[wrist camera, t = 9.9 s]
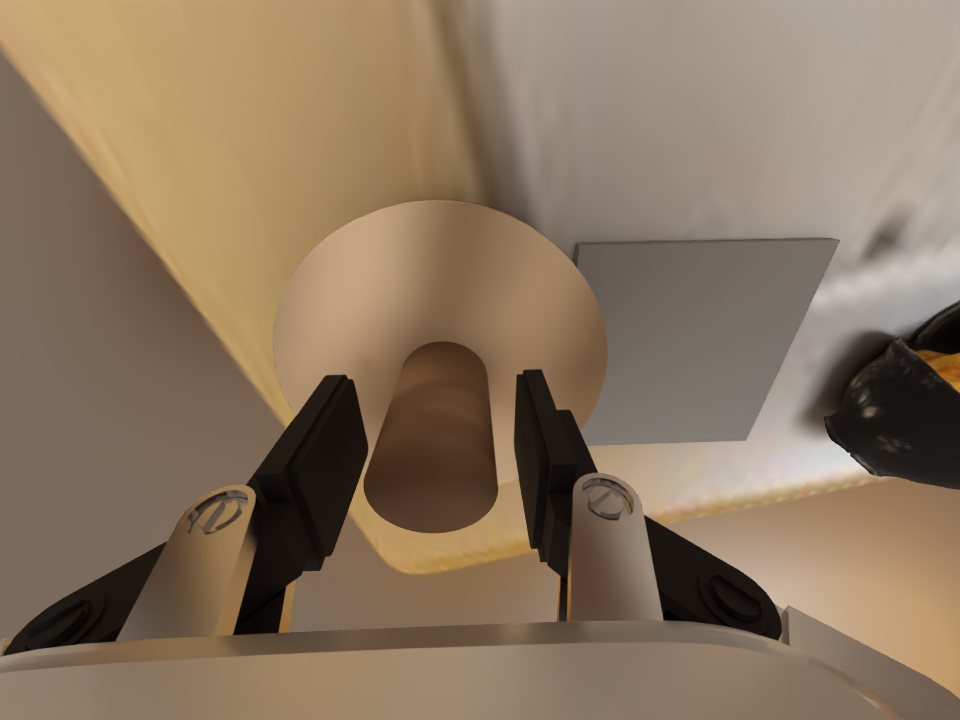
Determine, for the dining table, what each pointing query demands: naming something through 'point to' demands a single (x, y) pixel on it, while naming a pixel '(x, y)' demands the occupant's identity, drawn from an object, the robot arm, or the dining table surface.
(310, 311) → the lid
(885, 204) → the dining table surface
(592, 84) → the dining table surface
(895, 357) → the black dish with food
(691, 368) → the mat
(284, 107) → the dining table surface
